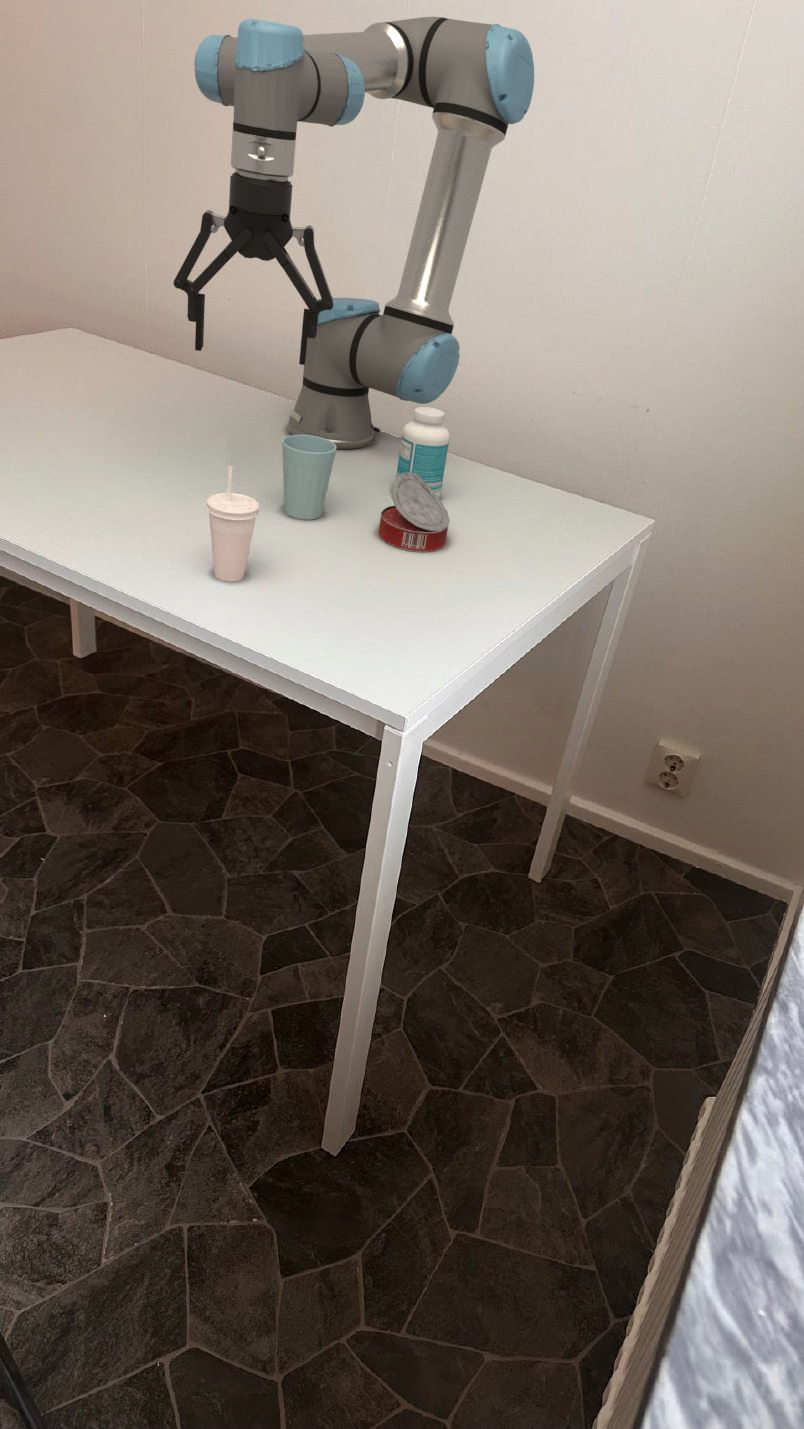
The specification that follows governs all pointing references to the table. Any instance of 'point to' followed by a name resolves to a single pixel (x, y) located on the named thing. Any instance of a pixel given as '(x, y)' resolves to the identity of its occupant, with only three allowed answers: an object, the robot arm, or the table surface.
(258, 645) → the table surface
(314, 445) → the cup
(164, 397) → the table surface
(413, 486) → the canned food
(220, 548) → the smoothie
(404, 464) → the pill bottle
